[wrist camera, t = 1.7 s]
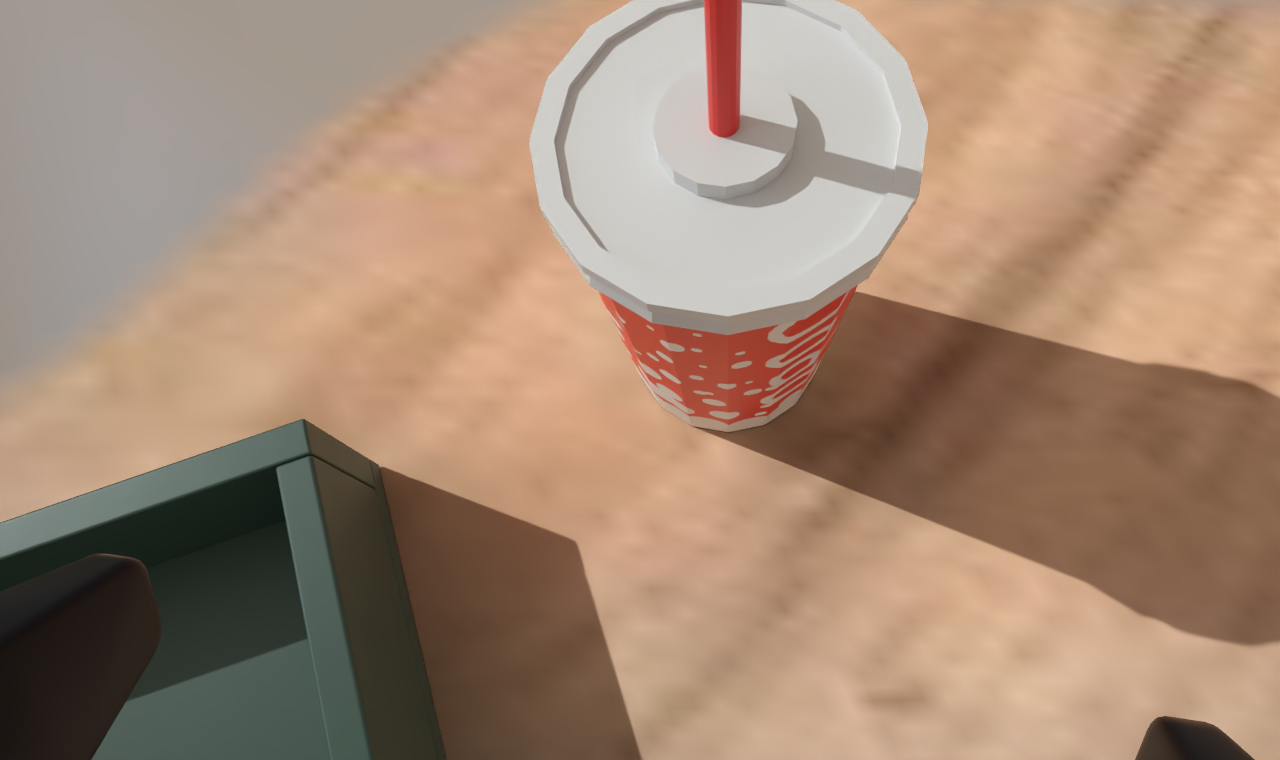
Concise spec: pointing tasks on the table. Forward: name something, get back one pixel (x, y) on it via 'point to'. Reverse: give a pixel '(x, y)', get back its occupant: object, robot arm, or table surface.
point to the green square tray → (255, 603)
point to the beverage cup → (728, 187)
